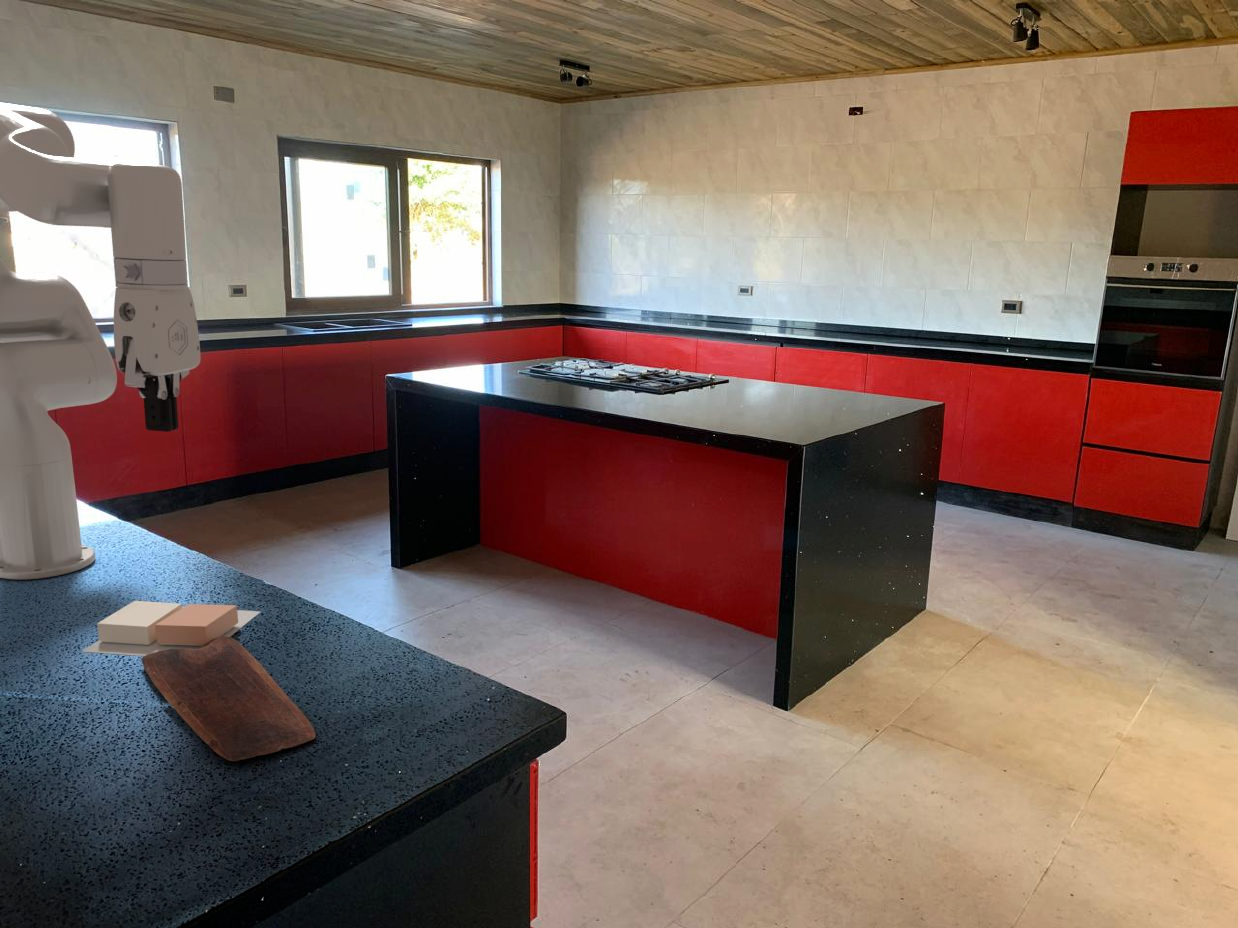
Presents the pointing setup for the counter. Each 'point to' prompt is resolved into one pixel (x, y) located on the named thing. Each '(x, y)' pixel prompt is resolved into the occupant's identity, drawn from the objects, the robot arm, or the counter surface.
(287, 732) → the wooden tablet
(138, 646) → the grey mat
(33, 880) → the counter surface
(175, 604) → the cream block
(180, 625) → the salmon pink block
